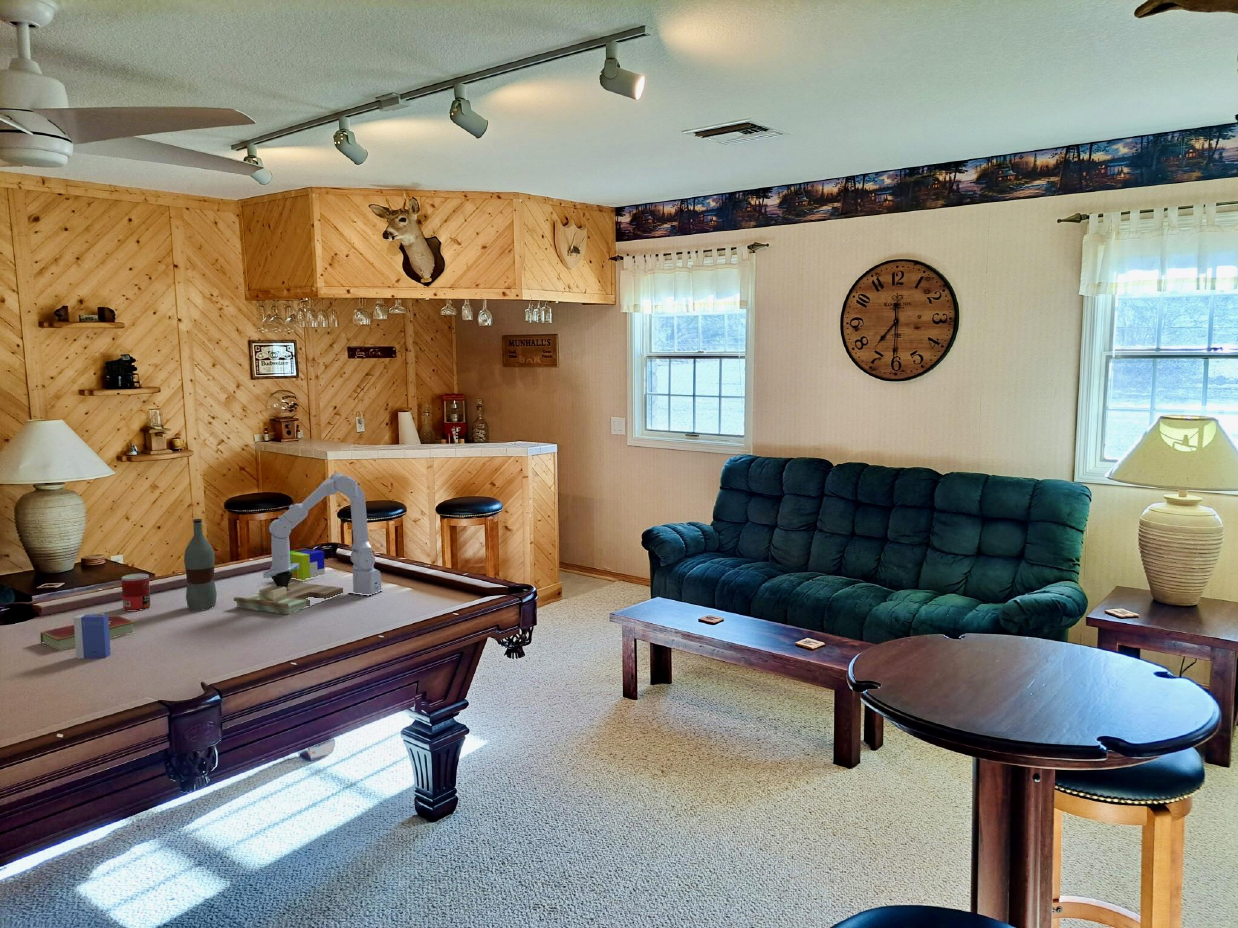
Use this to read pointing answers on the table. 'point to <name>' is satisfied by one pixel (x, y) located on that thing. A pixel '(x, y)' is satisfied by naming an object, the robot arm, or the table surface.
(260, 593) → the maple block
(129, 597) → the canned food
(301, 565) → the puzzle toy
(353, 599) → the table surface
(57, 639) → the hardcover book
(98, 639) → the walkman
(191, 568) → the bottle
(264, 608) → the trap deck
